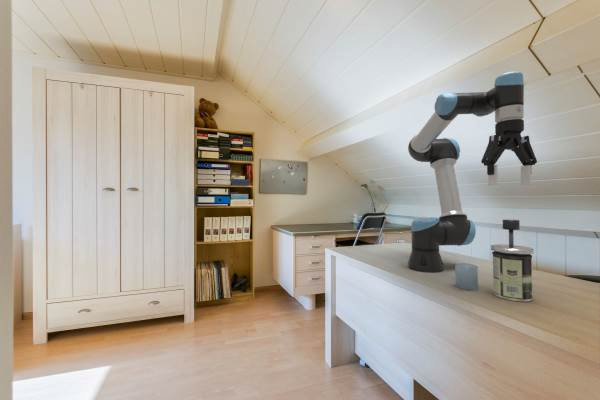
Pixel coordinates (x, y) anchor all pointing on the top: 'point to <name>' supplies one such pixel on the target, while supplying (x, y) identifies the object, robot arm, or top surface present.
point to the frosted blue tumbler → (466, 276)
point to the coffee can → (512, 276)
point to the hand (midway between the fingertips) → (509, 185)
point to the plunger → (511, 240)
